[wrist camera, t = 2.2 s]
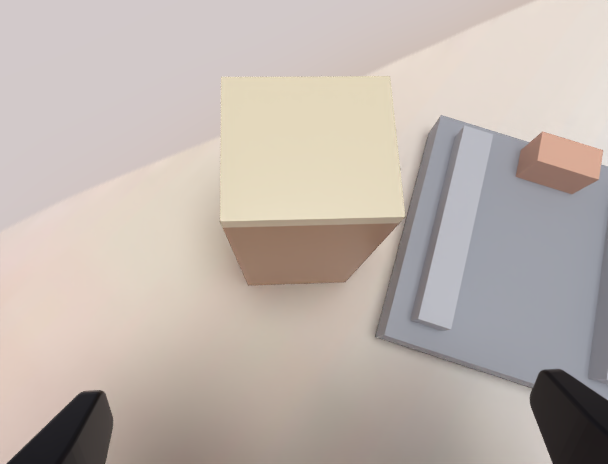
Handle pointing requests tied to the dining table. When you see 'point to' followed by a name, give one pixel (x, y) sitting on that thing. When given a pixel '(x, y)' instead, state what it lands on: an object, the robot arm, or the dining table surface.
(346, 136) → the cream-topped square box
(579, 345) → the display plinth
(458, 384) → the dining table surface
